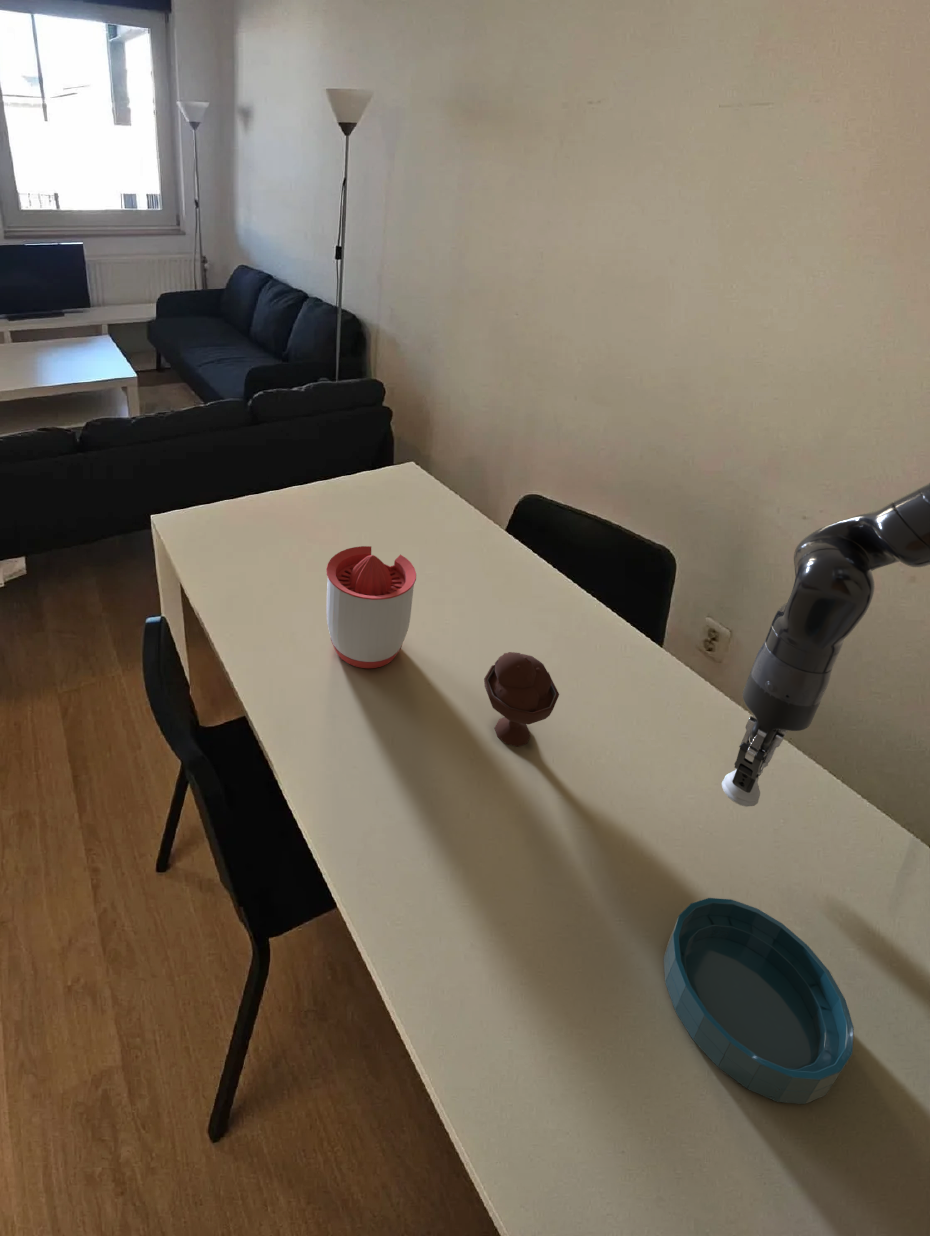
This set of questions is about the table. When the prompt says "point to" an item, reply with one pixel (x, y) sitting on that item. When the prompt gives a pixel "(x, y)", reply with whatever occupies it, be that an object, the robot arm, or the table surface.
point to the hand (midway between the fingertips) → (746, 778)
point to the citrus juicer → (368, 606)
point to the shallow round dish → (757, 1000)
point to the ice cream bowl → (519, 695)
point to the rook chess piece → (737, 793)
